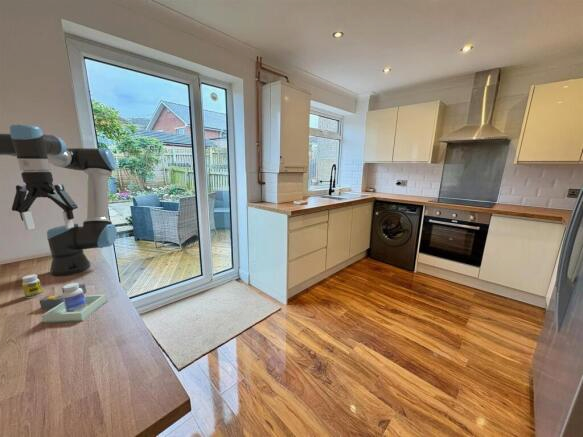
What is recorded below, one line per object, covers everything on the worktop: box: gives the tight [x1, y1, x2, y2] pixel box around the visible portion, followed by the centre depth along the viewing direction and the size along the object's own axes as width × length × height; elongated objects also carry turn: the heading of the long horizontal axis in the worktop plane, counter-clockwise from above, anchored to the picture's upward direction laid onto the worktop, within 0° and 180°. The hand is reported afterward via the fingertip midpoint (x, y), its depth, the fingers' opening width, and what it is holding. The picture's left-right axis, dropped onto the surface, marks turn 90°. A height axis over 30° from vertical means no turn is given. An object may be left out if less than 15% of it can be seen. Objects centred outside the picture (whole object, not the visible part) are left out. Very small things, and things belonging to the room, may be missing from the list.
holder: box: [39, 283, 87, 310], centre depth 92 cm, size 12×7×4 cm, turn 4°
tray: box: [41, 293, 108, 324], centre depth 84 cm, size 12×12×3 cm
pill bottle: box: [61, 282, 86, 312], centre depth 84 cm, size 5×5×10 cm
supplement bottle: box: [21, 274, 43, 299], centre depth 96 cm, size 5×5×8 cm
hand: (50, 228), depth 89 cm, fingers open, 13 cm apart
